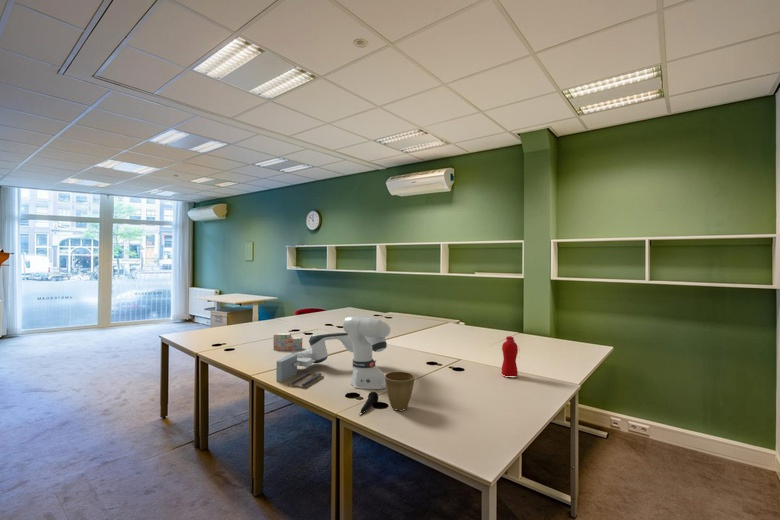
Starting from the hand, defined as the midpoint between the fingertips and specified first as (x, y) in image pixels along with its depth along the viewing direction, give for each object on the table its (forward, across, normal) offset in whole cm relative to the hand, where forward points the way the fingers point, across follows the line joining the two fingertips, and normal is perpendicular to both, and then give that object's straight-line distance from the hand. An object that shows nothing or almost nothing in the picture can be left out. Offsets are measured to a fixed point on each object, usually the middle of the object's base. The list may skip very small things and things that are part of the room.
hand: (289, 364), depth 226 cm
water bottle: (-50, -129, -7) cm, 139 cm away
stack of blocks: (-53, +38, -7) cm, 66 cm away
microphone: (+25, -63, -8) cm, 68 cm away
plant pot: (+20, -78, -7) cm, 81 cm away
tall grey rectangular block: (+3, 0, -7) cm, 8 cm away
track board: (+5, -15, -7) cm, 17 cm away
